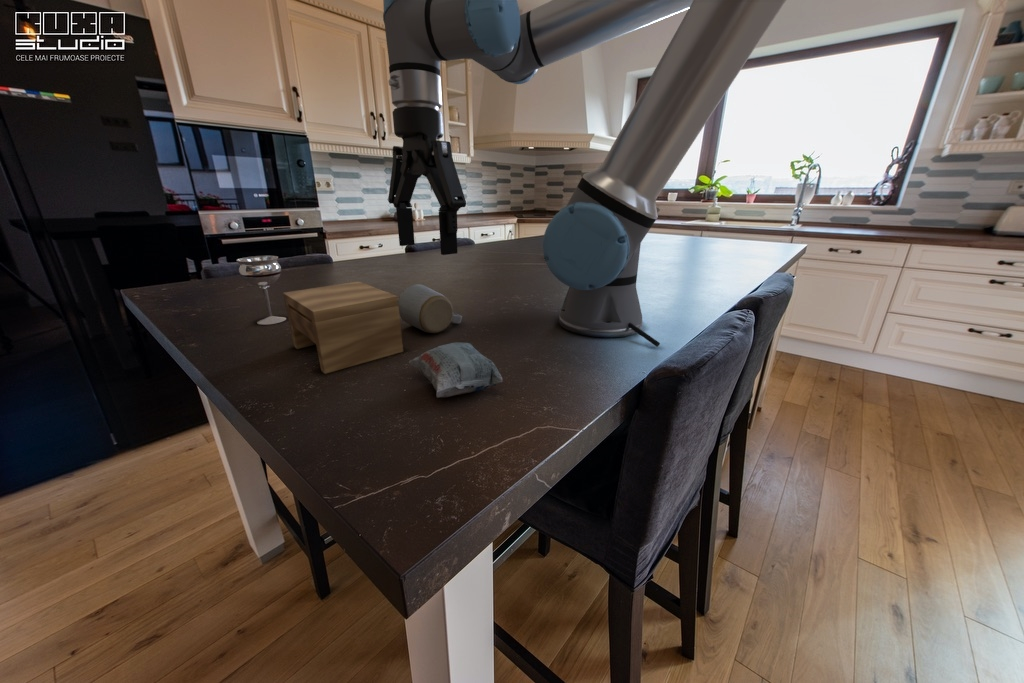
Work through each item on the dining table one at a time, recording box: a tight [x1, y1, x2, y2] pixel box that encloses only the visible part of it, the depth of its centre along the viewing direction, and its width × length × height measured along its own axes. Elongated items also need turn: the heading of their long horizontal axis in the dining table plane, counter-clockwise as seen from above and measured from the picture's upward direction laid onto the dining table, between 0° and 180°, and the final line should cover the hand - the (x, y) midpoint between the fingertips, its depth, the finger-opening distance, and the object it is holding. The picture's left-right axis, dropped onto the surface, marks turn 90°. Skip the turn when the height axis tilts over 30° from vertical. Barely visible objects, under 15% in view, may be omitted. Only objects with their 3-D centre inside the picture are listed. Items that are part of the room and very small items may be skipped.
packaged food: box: [408, 341, 504, 399], centre depth 51 cm, size 9×12×5 cm
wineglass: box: [236, 255, 287, 325], centre depth 75 cm, size 7×7×12 cm
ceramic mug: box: [398, 284, 463, 334], centre depth 72 cm, size 11×8×8 cm
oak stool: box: [282, 281, 404, 375], centre depth 62 cm, size 14×12×9 cm
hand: (426, 249), depth 68 cm, fingers open, 13 cm apart
